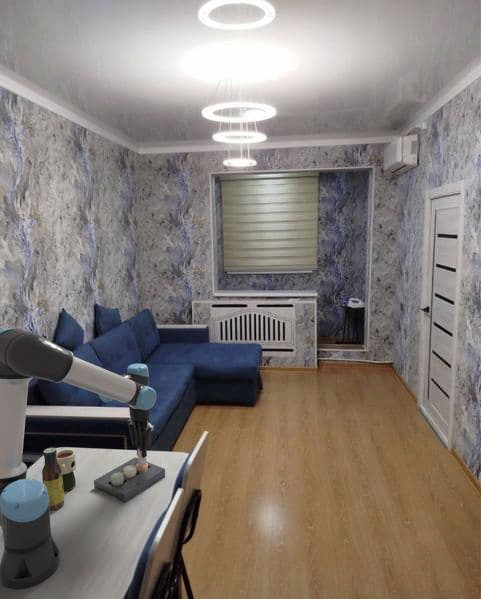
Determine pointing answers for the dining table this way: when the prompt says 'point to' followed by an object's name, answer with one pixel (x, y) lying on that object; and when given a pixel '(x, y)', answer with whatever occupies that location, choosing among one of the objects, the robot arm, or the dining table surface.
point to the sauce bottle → (53, 479)
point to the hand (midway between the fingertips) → (142, 464)
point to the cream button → (130, 471)
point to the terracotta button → (142, 467)
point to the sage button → (117, 479)
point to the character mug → (67, 467)
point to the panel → (129, 481)
